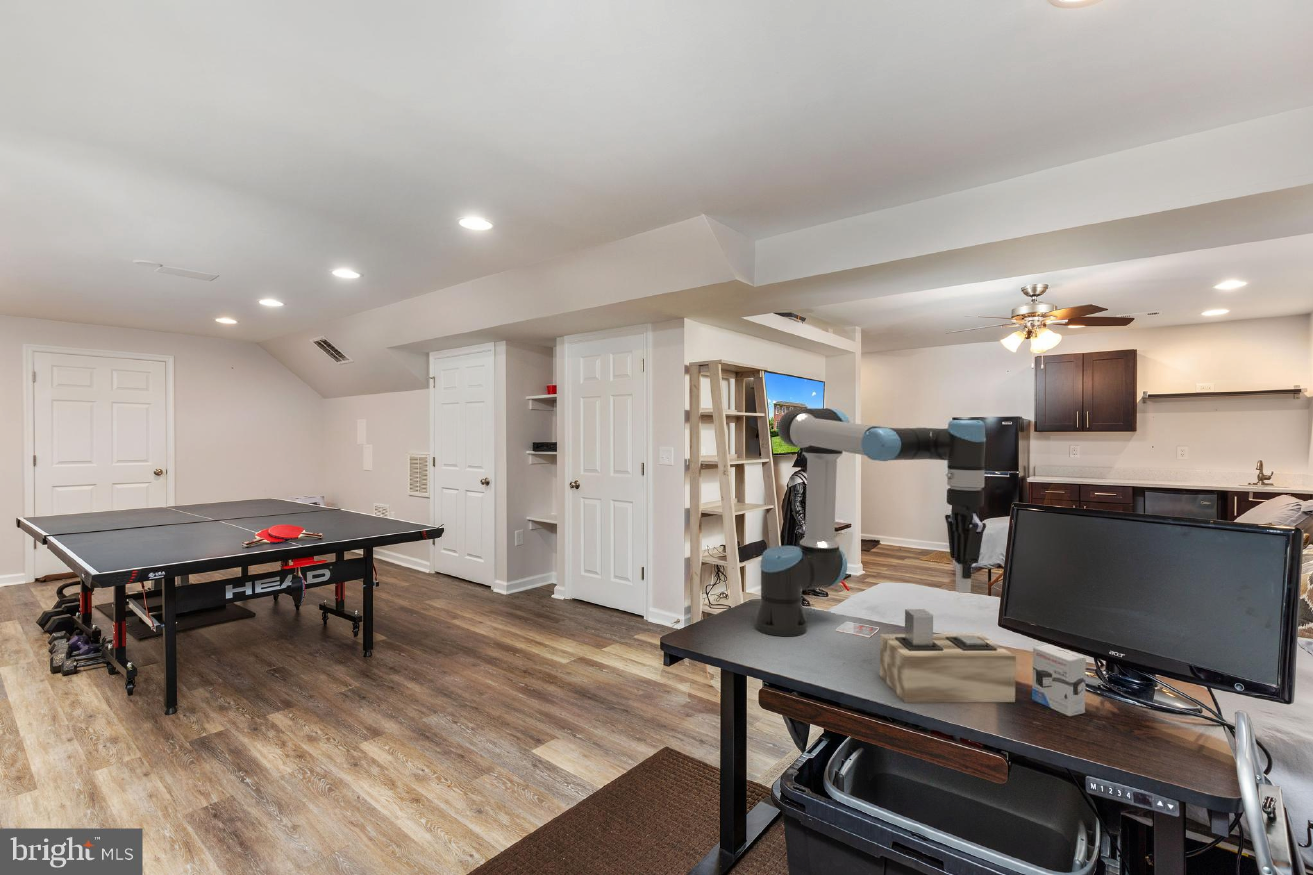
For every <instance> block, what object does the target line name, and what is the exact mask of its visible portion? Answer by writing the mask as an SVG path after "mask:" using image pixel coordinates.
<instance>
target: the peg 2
mask: <svg viewBox="0 0 1313 875" xmlns="http://www.w3.org/2000/svg"><path fill="white" fill-rule="evenodd" d="M956 641H957V642H958V643H960V644H961V645H963V646H964V647H986V642H984V641H982V640H981V639H979V638H978V637H976V636H956Z"/></svg>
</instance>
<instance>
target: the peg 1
mask: <svg viewBox="0 0 1313 875" xmlns="http://www.w3.org/2000/svg"><path fill="white" fill-rule="evenodd" d="M904 634H905V642H906V643H907V644H908V645H909V646H911V647H933V634H934V614H932V613H930V612H929V611H928V610H926V609H924V608H922V609H920V608H919V609H918V608H917V609H916V608H913V609H912V608H911V609H908V608H906V609H904Z"/></svg>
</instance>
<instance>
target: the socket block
mask: <svg viewBox="0 0 1313 875" xmlns="http://www.w3.org/2000/svg"><path fill="white" fill-rule="evenodd" d="M956 636H976V637H978V638H979V639H981V640H982V641H984V642H986V647H964V646H963V645H961V644H960V643H958V642H957V641H956ZM1016 661H1017V656H1016V655H1014V654H1013V653H1012V652H1010V651H1008V650H1007V649H1005V648H1003V647H1002V646H1000V645H999V644H997V643H995V642H994V641H993V640H991V639H989V638H987V637H986V636H984V635H982V633H933V647H911V646H909V645H908V644H907V643H906V642H905V633H880V634H879V677H881V679H882V680H883V681H884V682H885V683H886V685H888V686H889V687H890V688H891V689H892V690H893V691H894V693H896V694H897V696H898V697H899V698H900V699H901V700H902V701H903V702H904V703H906V704H907V703H908V704H909V703H913V704H914V703H915V704H916V703H1015V702H1016V671H1017V670H1016V669H1017V668H1016V664H1017V663H1016Z"/></svg>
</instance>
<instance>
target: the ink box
mask: <svg viewBox="0 0 1313 875" xmlns="http://www.w3.org/2000/svg"><path fill="white" fill-rule="evenodd" d="M1086 668H1087V658H1086V657H1084V656H1083V655H1080V654H1077V653H1075V652H1072V651H1069V650H1066V649H1063V648H1061V647H1058V646H1055V645H1053V644H1043V645H1040V646H1039V645H1037V646H1034V647H1032V685H1031V686H1032V687H1031V688H1032V692H1031V694H1032V695H1031V699H1032V701H1034V702H1037V703H1039V704H1041V705H1043V706H1045V707H1047V708H1049V709H1052V710H1054V711H1057V712H1058V713H1061V714H1063V715H1066V716H1068V717H1072V716H1077V715H1081V714H1085V713H1086V678H1087V677H1086V671H1087V669H1086Z"/></svg>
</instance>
